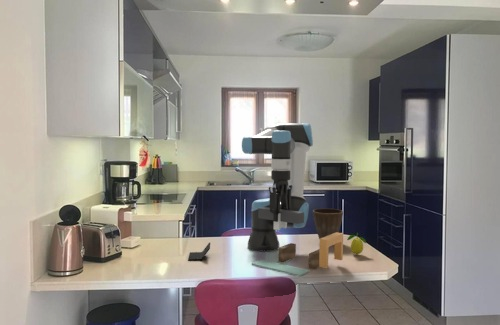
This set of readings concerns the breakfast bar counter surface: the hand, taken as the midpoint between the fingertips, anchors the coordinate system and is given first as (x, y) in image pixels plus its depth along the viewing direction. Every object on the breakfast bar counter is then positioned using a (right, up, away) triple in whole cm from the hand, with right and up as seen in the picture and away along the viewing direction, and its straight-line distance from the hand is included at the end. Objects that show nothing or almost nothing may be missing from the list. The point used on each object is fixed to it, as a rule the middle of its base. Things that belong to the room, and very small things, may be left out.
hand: (280, 228), depth 159 cm
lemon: (+36, -16, +21) cm, 44 cm away
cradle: (+10, -16, +8) cm, 20 cm away
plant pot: (+27, -14, +44) cm, 54 cm away
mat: (0, -16, +1) cm, 16 cm away
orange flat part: (+20, -14, 0) cm, 24 cm away
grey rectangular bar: (0, +3, 0) cm, 3 cm away
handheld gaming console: (-34, -16, +16) cm, 41 cm away
